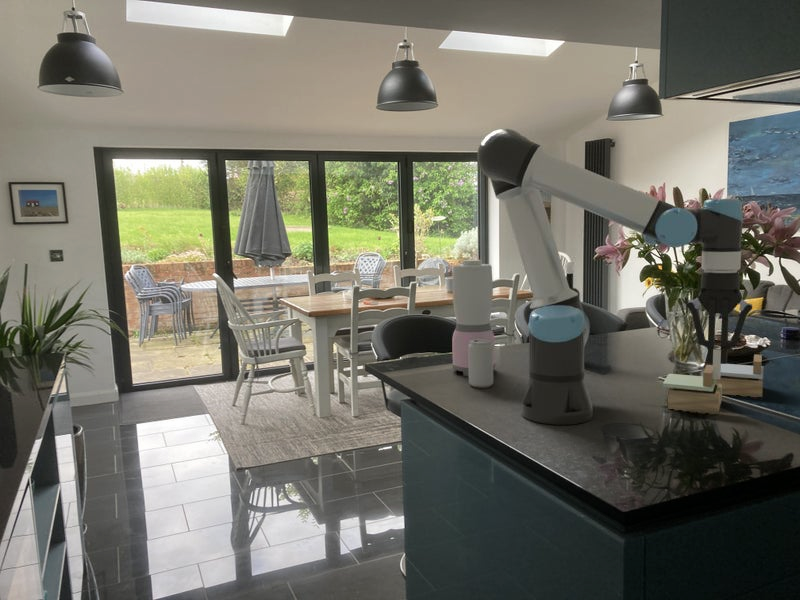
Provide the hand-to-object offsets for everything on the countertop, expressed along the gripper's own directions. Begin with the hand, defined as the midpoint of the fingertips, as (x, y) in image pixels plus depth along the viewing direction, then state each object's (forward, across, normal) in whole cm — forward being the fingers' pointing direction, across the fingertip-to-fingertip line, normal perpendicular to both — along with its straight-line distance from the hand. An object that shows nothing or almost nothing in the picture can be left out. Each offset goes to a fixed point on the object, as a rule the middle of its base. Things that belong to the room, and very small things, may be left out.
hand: (716, 377), depth 139 cm
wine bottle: (+7, +42, -36) cm, 56 cm away
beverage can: (+8, +55, +2) cm, 56 cm away
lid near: (+2, +5, 0) cm, 6 cm away
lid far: (+2, -4, -16) cm, 17 cm away
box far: (+7, -4, -16) cm, 18 cm away
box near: (+7, +4, 0) cm, 8 cm away
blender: (+8, +64, -13) cm, 66 cm away
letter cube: (+6, -4, -16) cm, 18 cm away
